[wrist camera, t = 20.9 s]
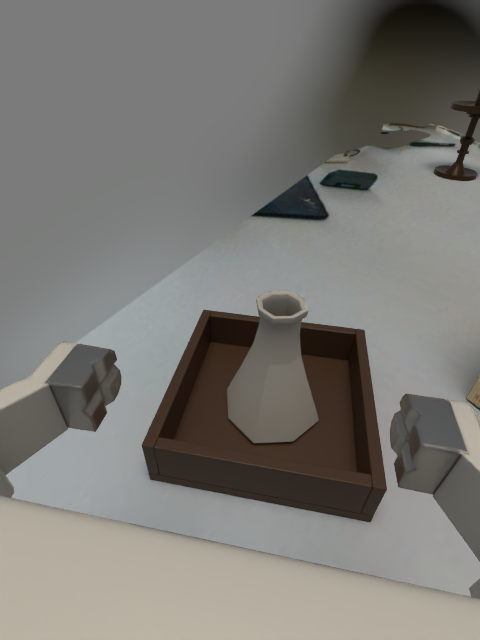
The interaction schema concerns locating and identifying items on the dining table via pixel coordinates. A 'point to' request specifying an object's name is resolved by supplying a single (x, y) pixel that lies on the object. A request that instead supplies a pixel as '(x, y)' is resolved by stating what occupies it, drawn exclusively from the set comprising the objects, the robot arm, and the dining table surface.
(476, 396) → the coffeecake box
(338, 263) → the dining table surface
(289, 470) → the tray
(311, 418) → the flask
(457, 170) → the candlestick
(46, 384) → the robot arm
